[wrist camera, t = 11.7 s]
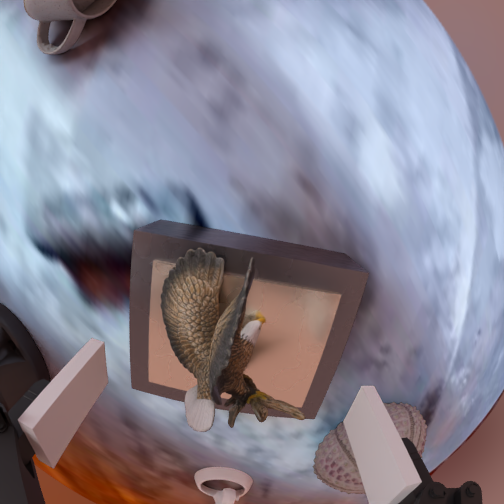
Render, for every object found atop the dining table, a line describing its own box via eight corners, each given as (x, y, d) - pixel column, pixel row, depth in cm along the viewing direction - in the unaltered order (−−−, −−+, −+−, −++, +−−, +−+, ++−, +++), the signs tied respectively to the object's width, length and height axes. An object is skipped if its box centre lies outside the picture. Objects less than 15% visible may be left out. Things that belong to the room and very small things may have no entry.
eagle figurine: (330, 363, 16) (288, 228, 12) (280, 468, 11) (186, 350, 7) (231, 350, 20) (174, 243, 17) (174, 424, 15) (84, 318, 12)
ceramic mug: (78, -19, 14) (44, -49, 7) (136, -27, 15) (107, -68, 7) (34, 59, 17) (-14, 40, 9) (87, 57, 17) (36, 28, 10)
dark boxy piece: (305, 381, 24) (314, 421, 18) (151, 354, 23) (130, 390, 18) (344, 253, 21) (370, 274, 16) (160, 219, 20) (132, 230, 15)
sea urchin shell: (429, 381, 24) (463, 426, 16) (400, 452, 27) (419, 493, 19) (315, 404, 24) (330, 467, 17) (306, 472, 28) (314, 521, 20)
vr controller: (154, 479, 21) (203, 518, 18) (220, 445, 32) (264, 470, 28) (151, 510, 22) (193, 544, 18) (210, 477, 32) (249, 500, 28)
